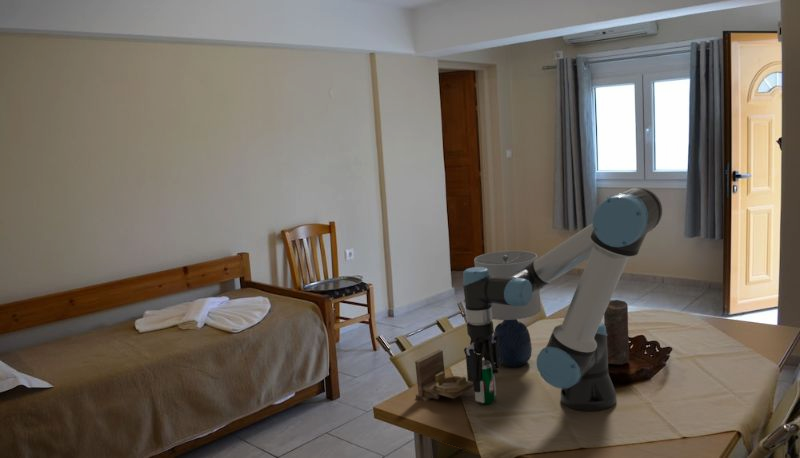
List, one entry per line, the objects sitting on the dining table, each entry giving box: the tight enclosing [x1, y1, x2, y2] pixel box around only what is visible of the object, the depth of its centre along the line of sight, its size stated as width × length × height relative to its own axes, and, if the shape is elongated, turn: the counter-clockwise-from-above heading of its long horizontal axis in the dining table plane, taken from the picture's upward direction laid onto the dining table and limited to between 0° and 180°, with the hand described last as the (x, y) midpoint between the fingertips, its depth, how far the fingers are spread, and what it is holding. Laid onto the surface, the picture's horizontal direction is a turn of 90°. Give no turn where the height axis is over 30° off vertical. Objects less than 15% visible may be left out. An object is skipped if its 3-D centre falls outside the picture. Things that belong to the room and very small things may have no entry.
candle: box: [603, 299, 630, 366], centre depth 206 cm, size 8×7×20 cm
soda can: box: [478, 359, 496, 406], centre depth 188 cm, size 5×5×12 cm
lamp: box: [473, 250, 542, 368], centre depth 214 cm, size 20×20×37 cm
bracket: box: [414, 349, 474, 402], centre depth 194 cm, size 14×11×12 cm
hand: (486, 397), depth 189 cm, fingers closed on soda can, 5 cm apart
